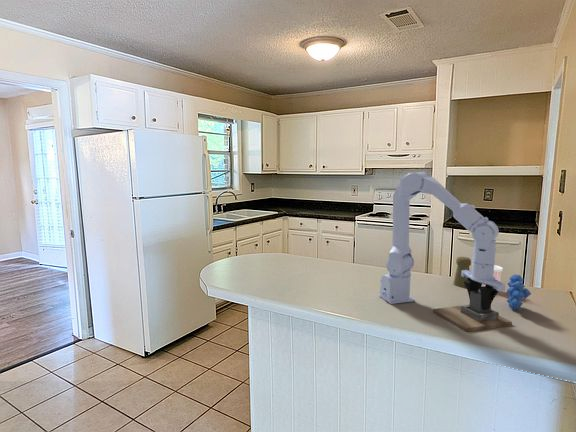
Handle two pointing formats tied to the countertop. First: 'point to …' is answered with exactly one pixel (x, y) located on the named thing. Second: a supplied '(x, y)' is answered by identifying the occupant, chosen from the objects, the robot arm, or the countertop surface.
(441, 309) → the charging dock
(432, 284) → the countertop surface
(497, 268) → the beverage cup
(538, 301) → the countertop surface
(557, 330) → the countertop surface
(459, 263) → the cork
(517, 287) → the grapes
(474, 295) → the plug
